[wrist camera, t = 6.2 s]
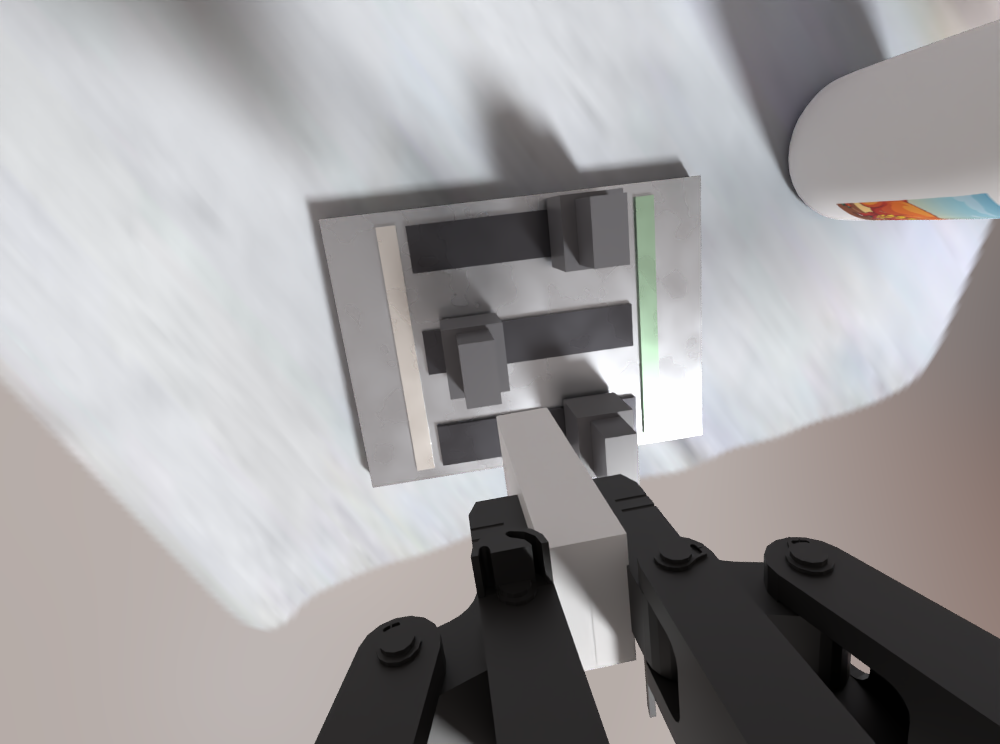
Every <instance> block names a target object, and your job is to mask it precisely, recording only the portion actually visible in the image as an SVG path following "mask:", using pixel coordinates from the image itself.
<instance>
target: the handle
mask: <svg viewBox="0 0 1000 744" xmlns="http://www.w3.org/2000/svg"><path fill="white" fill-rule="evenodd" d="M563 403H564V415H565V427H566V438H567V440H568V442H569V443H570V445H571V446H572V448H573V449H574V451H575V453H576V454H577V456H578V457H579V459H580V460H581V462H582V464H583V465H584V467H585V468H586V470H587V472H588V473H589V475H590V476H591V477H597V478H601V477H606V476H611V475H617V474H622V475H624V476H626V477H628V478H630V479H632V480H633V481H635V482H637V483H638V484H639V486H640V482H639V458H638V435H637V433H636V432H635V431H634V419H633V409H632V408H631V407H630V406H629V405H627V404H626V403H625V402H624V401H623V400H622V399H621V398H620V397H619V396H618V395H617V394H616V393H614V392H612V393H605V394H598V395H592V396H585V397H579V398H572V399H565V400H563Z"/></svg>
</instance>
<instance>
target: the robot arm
mask: <svg viewBox="0 0 1000 744" xmlns="http://www.w3.org/2000/svg"><path fill="white" fill-rule="evenodd" d="M496 419H497V426H498V432H499V439H500V446H501V453H502V460H503V467H504V473H505V480H506V487H507V494H508V496H506V497H501V498H496V499H490V500H485V501H479V502H476V503H475V505H474V507H473V508H472V510H471V512H470V514H469V522H470V529H471V537H472V544H473V549H472V554H471V560H472V566H473V571H474V578H475V583H476V588H477V594H476V597H475V599H474V601H473V603H472V604H471V605H470V607H469V608H468V609H467V610H466V611H465V612H464V613H462V614H461V615H460V616H459V617H457V618H455V619H453V620H452V621H450V622H448V623H446V624H444V625H442V626H439V627H436V625H435V624H434V623H432V622H431V621H429V620H427V619H426V618H423V617H415V616H407V617H402V618H396V619H393V620H391V621H389V622H386V623H384V624H382V625H380V626H379V627H377V628H376V629H375V630H374V631H372V632H371V633H370V634H369V635H367V637H366V638H365V640H364V641H363V643H362V644H361V645H360V647H359V648H358V651H357V653H356V655H355V657H354V659H353V661H352V664H351V666H350V668H349V670H348V672H347V674H346V677H345V679H344V681H343V683H342V685H341V688H340V690H339V692H338V694H337V696H336V698H335V700H334V703H333V705H332V707H331V709H330V711H329V713H328V716H327V718H326V720H325V722H324V724H323V727H322V729H321V731H320V733H319V735H318V737H317V740H316V742H315V744H609V741H608V739H607V736H606V733H605V730H604V727H603V724H602V721H601V718H600V715H599V713H598V710H597V707H596V704H595V701H594V698H593V695H592V692H591V689H590V687H589V684H588V681H587V678H586V675H585V672H584V671H586V670H592V669H596V668H601V667H606V666H610V665H615V664H619V663H624V662H629V661H634V660H636V650H635V638H636V641H637V643H638V645H639V647H640V649H641V651H642V653H643V655H644V663H645V677H646V691H647V704H648V709H649V715H650V717H654V716H656V706H655V701H656V702H657V705H658V707H659V709H660V711H661V713H662V715H663V718H664V720H665V722H666V724H667V726H668V728H669V730H670V733H671V735H672V737H673V739H674V741H675V743H676V744H1000V639H999V638H998V637H996V636H994V635H992V634H990V633H989V632H987V631H985V630H983V629H981V628H980V627H978V626H976V625H974V624H973V623H971V622H969V621H967V620H965V619H963V618H962V617H960V616H958V615H957V614H955V613H953V612H951V611H949V610H947V609H946V608H944V607H942V606H940V605H939V604H937V603H935V602H933V601H931V600H930V599H928V598H926V597H924V596H923V595H921V594H919V593H917V592H916V591H914V590H912V589H910V588H908V587H906V586H905V585H903V584H901V583H899V582H898V581H896V580H894V579H892V578H890V577H889V576H887V575H885V574H883V573H882V572H880V571H878V570H876V569H874V568H873V567H871V566H869V565H867V564H865V563H864V562H862V561H860V560H858V559H857V558H855V557H853V556H851V555H850V554H848V553H846V552H844V551H842V550H840V549H839V548H837V547H835V546H832V545H830V544H827V543H825V542H823V541H819V540H814V539H809V538H801V537H788V538H784V539H779V540H776V541H774V542H773V543H771V544H770V545H768V546H767V548H766V551H765V554H764V563H763V562H731V561H722V560H719V559H718V558H717V557H716V556H715V555H714V553H713V552H712V551H711V550H709V549H708V548H707V547H706V546H704V545H703V544H702V543H700V542H697V541H695V540H692V539H690V538H684V537H680V536H679V534H678V533H677V532H676V531H675V529H674V528H673V527H672V526H671V524H670V523H669V522H668V521H667V519H666V518H665V517H664V516H663V514H662V513H661V512H660V511H659V509H658V508H657V507H656V506H654V503H653V502H652V501H651V499H650V498H649V497H648V496H647V495H646V493H645V492H644V491H643V489H642V488H641V487H640V486H639V484H638V483H637V482H635V481H633V480H632V479H630V478H628V477H626V476H624V475H622V474H617V475H611V476H606V477H601V478H595V479H592V478H591V476H590V475H589V473H588V472H587V470H586V468H585V467H584V465H583V464H582V462H581V460H580V459H579V457H578V456H577V454H576V453H575V451H574V449H573V448H572V446H571V445H570V443H569V442H568V440H567V438H566V437H565V435H564V434H563V432H562V430H561V429H560V427H559V426H558V424H557V423H556V421H555V419H554V418H553V416H552V415H551V413H550V411H549V410H548V408H547V407H546V408H540V409H534V410H528V411H522V412H517V413H511V414H505V415H499V416H496ZM851 654H852V655H853V656H855V657H856V658H857V659H859V660H860V661H862V662H863V663H864V664H866V665H867V666H868V667H870V674H867V673H864V672H862V671H861V670H859V669H857V668H856V667H855V666H853V665H852V664H851V663H850V661H851Z"/></svg>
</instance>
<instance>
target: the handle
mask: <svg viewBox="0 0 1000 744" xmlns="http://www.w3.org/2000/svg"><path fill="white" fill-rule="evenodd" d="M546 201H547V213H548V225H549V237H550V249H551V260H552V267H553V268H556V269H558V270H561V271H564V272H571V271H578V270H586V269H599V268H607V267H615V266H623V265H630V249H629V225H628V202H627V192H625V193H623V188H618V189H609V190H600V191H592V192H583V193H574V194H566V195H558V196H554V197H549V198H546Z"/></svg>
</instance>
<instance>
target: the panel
mask: <svg viewBox="0 0 1000 744" xmlns="http://www.w3.org/2000/svg"><path fill="white" fill-rule="evenodd" d="M618 188H623V193H625V192H627V202H628V225H629V249H630V265H623V266H615V267H607V268H599V269H586V270H578V271H571V272H564V271H561V270H558V269H556V268H553V267H552V260H551V249H550V237H549V225H548V213H547V201H546V198H549V197H554V196H558V195H566V194H574V193H583V192H592V191H600V190H609V189H618ZM319 224H320V229H321V234H322V239H323V244H324V249H325V254H326V259H327V264H328V269H329V273H330V278H331V283H332V288H333V293H334V298H335V303H336V308H337V313H338V318H339V323H340V328H341V333H342V338H343V343H344V348H345V353H346V358H347V363H348V367H349V372H350V377H351V382H352V387H353V392H354V397H355V402H356V407H357V412H358V417H359V422H360V427H361V432H362V437H363V442H364V447H365V452H366V456H367V461H368V466H369V471H370V476H371V481H372V486H373V488H374V487H380V486H386V485H392V484H399V483H405V482H411V481H417V480H424V479H430V478H436V477H442V476H448V475H455V474H461V473H467V472H473V471H480V470H486V469H492V468H498V467H503V460H502V453H501V446H500V439H499V432H498V426H497V419H496V416H499V415H505V414H511V413H517V412H522V411H528V410H534V409H540V408H546V407H547V408H548V410H549V411H550V413H551V415H552V416H553V418H554V419H555V421H556V423H557V424H558V426H559V427H560V429H561V430H562V432H563V434H564V435H565V437H566V427H565V415H564V403H563V400H565V399H572V398H579V397H585V396H592V395H598V394H605V393H612V392H614V393H616V394H617V395H618V396H619V397H620V398H621V399H622V400H623V401H624V402H625V403H626V404H627V405H629V406H630V407H631V408H632V409H633V419H634V431H635V432H636V433H637V435H638V445H642V444H648V443H654V442H660V441H667V440H673V439H679V438H685V437H692V436H698V435H702V332H701V176H692V177H683V178H675V179H666V180H657V181H649V182H640V183H631V184H622V185H614V186H605V187H596V188H588V189H579V190H570V191H562V192H553V193H544V194H536V195H527V196H518V197H510V198H501V199H492V200H484V201H475V202H466V203H458V204H449V205H440V206H432V207H423V208H414V209H406V210H397V211H388V212H380V213H371V214H362V215H354V216H345V217H336V218H328V219H319ZM488 313H496V314H497V316H498V317H499V318H500V320H501V321H502V323H503V332H504V340H505V349H506V358H507V367H508V376H509V384H510V391H507V392H501V400H502V404H499V405H492V406H486V407H479V408H472V409H467V406H466V401H465V398H460V399H453V400H451V399H450V392H449V386H448V379H447V372H446V365H445V359H444V352H443V345H442V338H441V331H440V320H443V319H451V318H458V317H466V316H473V315H480V314H488Z"/></svg>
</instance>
